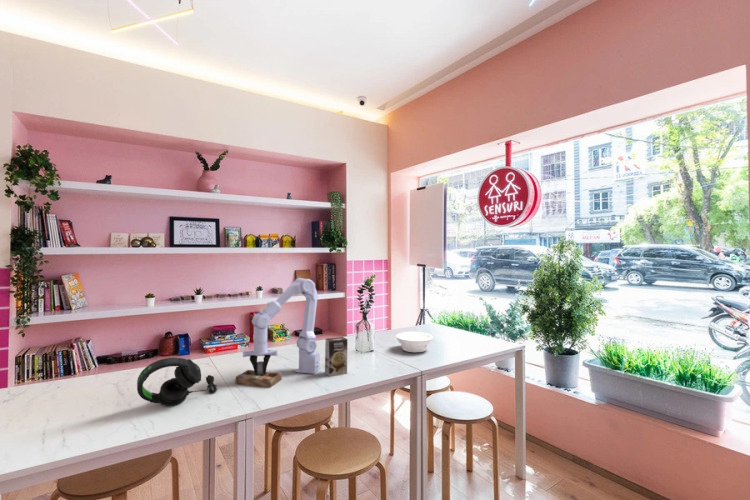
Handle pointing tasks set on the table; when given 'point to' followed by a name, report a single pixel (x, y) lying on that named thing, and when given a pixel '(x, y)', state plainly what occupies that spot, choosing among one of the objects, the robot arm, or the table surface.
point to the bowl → (414, 341)
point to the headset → (173, 381)
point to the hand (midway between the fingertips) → (260, 372)
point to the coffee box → (335, 356)
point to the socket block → (258, 378)
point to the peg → (260, 368)
